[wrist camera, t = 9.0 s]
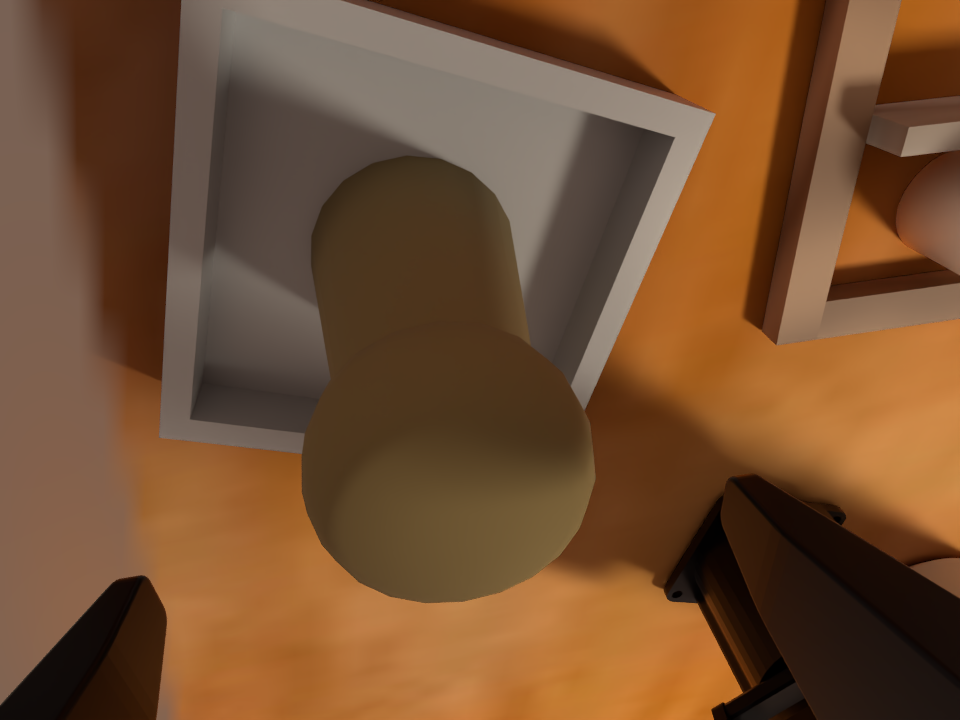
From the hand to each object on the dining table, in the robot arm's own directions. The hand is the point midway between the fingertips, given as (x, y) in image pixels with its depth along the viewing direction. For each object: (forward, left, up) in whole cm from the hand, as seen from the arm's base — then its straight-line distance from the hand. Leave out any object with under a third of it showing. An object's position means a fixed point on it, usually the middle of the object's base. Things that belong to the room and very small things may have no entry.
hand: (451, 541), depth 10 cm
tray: (0, 0, -12) cm, 12 cm away
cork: (0, 0, -11) cm, 11 cm away
